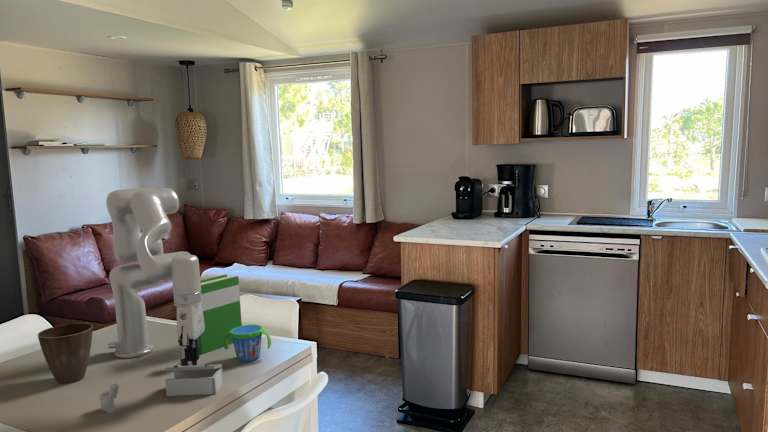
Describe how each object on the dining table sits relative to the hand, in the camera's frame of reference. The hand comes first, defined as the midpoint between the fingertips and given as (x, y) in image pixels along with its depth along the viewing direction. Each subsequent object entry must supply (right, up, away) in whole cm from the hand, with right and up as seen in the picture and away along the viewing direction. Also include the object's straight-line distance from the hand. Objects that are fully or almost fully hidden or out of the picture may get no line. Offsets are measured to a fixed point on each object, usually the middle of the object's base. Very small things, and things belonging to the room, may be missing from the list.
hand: (193, 360), depth 163 cm
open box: (0, -9, +2) cm, 9 cm away
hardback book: (-5, -5, +40) cm, 41 cm away
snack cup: (+10, -6, +25) cm, 28 cm away
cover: (0, -3, +1) cm, 3 cm away
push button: (-9, -8, +20) cm, 23 cm away
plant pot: (-43, -10, +13) cm, 46 cm away
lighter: (-19, -11, -10) cm, 24 cm away
